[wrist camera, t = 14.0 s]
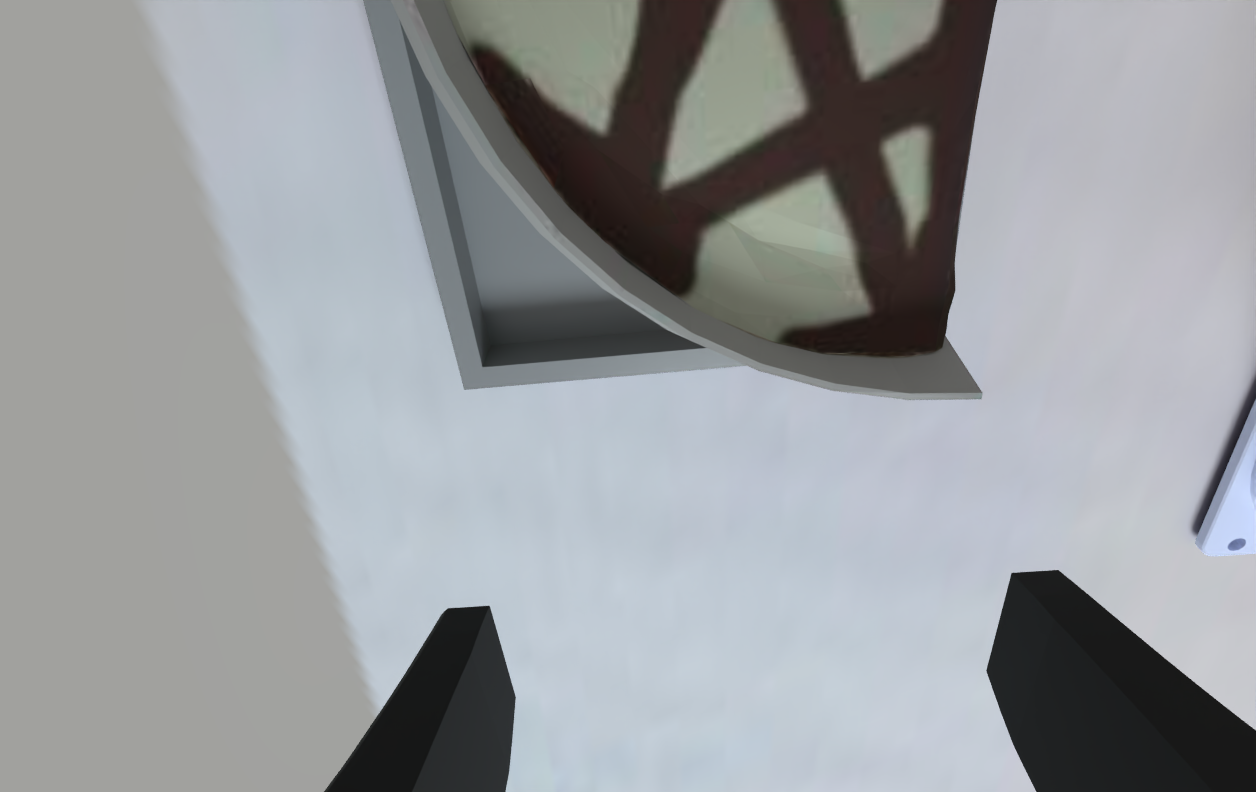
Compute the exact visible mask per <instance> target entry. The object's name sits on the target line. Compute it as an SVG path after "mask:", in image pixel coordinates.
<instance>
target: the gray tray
mask: <svg viewBox="0 0 1256 792" xmlns="http://www.w3.org/2000/svg"><path fill="white" fill-rule="evenodd" d="M363 1H364V5H365V9H366V13H367V17H368V20H369V24H370V28H371V32H372V36H373V40H374V44H375V47H376V51H377V55H378V59H379V63H380V67H381V70H382V74H383V78H384V82H385V86H386V90H387V94H388V97H389V101H390V105H391V109H392V113H393V117H394V121H395V124H396V128H397V132H398V136H399V140H400V144H401V148H402V151H403V155H404V159H405V163H406V167H407V171H408V175H409V178H410V182H411V186H412V190H413V194H414V198H415V201H416V205H417V209H418V213H419V217H420V221H421V225H422V228H423V232H424V236H425V240H426V244H427V248H428V252H429V255H430V259H431V263H432V267H433V271H434V275H435V279H436V282H437V286H438V290H439V294H440V298H441V302H442V305H443V309H444V313H445V317H446V321H447V325H448V329H449V332H450V336H451V340H452V344H453V348H454V352H455V356H456V359H457V363H458V367H459V371H460V375H461V379H462V383H463V386H464V390H467V389H478V388H490V387H502V386H514V385H526V384H537V383H549V382H561V381H573V380H584V379H596V378H608V377H620V376H632V375H643V374H655V373H667V372H679V371H690V370H702V369H714V368H726V367H737V366H747V365H745V364H742V363H740V362H738V361H735V360H733V359H731V358H729V357H726V356H724V355H722V354H720V353H717V352H715V351H713V350H710V349H708V348H706V347H704V346H701V345H699V344H697V343H695V342H692V341H690V340H688V339H686V338H684V337H681V336H679V335H677V334H675V333H672V332H670V331H668V330H667V329H665V328H663V327H662V326H660V325H659V324H657V323H656V322H654V321H652V320H651V319H649V318H648V317H646V316H645V315H643V314H642V313H640V312H638V311H637V310H635V309H634V308H632V307H631V306H629V305H627V304H626V303H624V302H623V301H621V300H620V299H618V298H617V297H615V296H613V295H612V294H610V293H609V292H607V291H606V290H604V289H602V288H601V287H600V286H599V285H598V284H597V283H596V282H594V281H593V280H592V279H591V278H590V277H589V276H588V275H586V274H585V273H584V272H583V271H582V270H581V269H580V268H579V267H577V266H576V265H575V264H574V263H573V262H572V261H571V260H569V259H568V258H567V257H566V256H565V255H564V254H563V253H561V252H560V251H559V250H558V249H557V248H556V247H555V246H553V245H552V244H551V243H550V242H549V241H548V240H547V239H546V238H544V237H543V236H542V235H541V234H540V233H539V232H538V231H537V230H536V229H535V227H534V226H533V225H532V224H531V223H530V222H529V220H528V219H527V218H526V217H525V216H524V214H523V213H522V212H521V211H520V210H519V209H518V207H517V206H516V205H515V204H514V203H513V201H512V200H511V199H510V198H509V197H508V196H507V194H506V193H505V192H504V191H503V190H502V188H501V187H500V186H499V185H498V184H497V183H496V181H495V180H494V179H493V178H492V177H491V175H490V174H489V173H488V172H487V171H486V170H485V168H484V167H483V166H482V165H481V164H480V162H479V161H478V159H477V158H476V156H475V154H474V153H473V151H472V150H471V148H470V146H469V145H468V143H467V142H466V140H465V138H464V137H463V135H462V134H461V132H460V131H459V129H458V127H457V126H456V124H455V123H454V121H453V119H452V118H451V116H450V115H449V113H448V111H447V110H446V108H445V107H444V105H443V104H442V102H441V100H440V99H439V97H438V96H437V94H436V92H435V91H434V89H433V88H432V86H431V84H430V83H429V81H428V80H427V78H426V77H425V74H424V72H423V70H422V68H421V66H420V63H419V61H418V59H417V57H416V55H415V53H414V50H413V48H412V46H411V44H410V42H409V39H408V37H407V35H406V33H405V31H404V28H403V26H402V24H401V22H400V20H399V17H398V15H397V13H396V11H395V9H394V7H393V4H392V2H391V0H363ZM974 122H975V121H974ZM973 129H974V128H973ZM972 135H973V134H972ZM971 142H972V140H971ZM970 149H971V147H970ZM969 156H970V153H969ZM968 163H969V159H968ZM967 170H968V166H967ZM966 176H967V172H966ZM965 183H966V178H965ZM964 190H965V184H964ZM963 197H964V191H963ZM963 197H962V203H961V210H960V216H959V224H960V217H961V211H962V204H963ZM959 224H958V231H959ZM957 238H958V234H957ZM956 245H957V244H956Z"/></svg>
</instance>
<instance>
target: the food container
mask: <svg viewBox="0 0 1256 792" xmlns="http://www.w3.org/2000/svg"><path fill="white" fill-rule="evenodd" d="M391 2H392V4H393V7H394V9H395V11H396V13H397V15H398V17H399V20H400V22H401V24H402V26H403V28H404V31H405V33H406V35H407V37H408V39H409V42H410V44H411V46H412V48H413V50H414V53H415V55H416V57H417V59H418V61H419V63H420V66H421V68H422V70H423V72H424V74H425V77H426V78H427V80H428V81H429V83H430V84H431V86H432V88H433V89H434V91H435V92H436V94H437V96H438V97H439V99H440V100H441V102H442V104H443V105H444V107H445V108H446V110H447V111H448V113H449V115H450V116H451V118H452V119H453V121H454V123H455V124H456V126H457V127H458V129H459V131H460V132H461V134H462V135H463V137H464V138H465V140H466V142H467V143H468V145H469V146H470V148H471V150H472V151H473V153H474V154H475V156H476V158H477V159H478V161H479V162H480V164H481V165H482V166H483V167H484V168H485V170H486V171H487V172H488V173H489V174H490V175H491V177H492V178H493V179H494V180H495V181H496V183H497V184H498V185H499V186H500V187H501V188H502V190H503V191H504V192H505V193H506V194H507V196H508V197H509V198H510V199H511V200H512V201H513V203H514V204H515V205H516V206H517V207H518V209H519V210H520V211H521V212H522V213H523V214H524V216H525V217H526V218H527V219H528V220H529V222H530V223H531V224H532V225H533V226H534V227H535V229H536V230H537V231H538V232H539V233H540V234H541V235H542V236H543V237H544V238H546V239H547V240H548V241H549V242H550V243H551V244H552V245H553V246H555V247H556V248H557V249H558V250H559V251H560V252H561V253H563V254H564V255H565V256H566V257H567V258H568V259H569V260H571V261H572V262H573V263H574V264H575V265H576V266H577V267H579V268H580V269H581V270H582V271H583V272H584V273H585V274H586V275H588V276H589V277H590V278H591V279H592V280H593V281H594V282H596V283H597V284H598V285H599V286H600V287H601V288H602V289H604V290H606V291H607V292H609V293H610V294H612V295H613V296H615V297H617V298H618V299H620V300H621V301H623V302H624V303H626V304H627V305H629V306H631V307H632V308H634V309H635V310H637V311H638V312H640V313H642V314H643V315H645V316H646V317H648V318H649V319H651V320H652V321H654V322H656V323H657V324H659V325H660V326H662V327H663V328H665V329H667V330H668V331H670V332H672V333H675V334H677V335H679V336H681V337H684V338H686V339H688V340H690V341H692V342H695V343H697V344H699V345H701V346H704V347H706V348H708V349H710V350H713V351H715V352H717V353H720V354H722V355H724V356H726V357H729V358H731V359H733V360H735V361H738V362H740V363H742V364H745V365H747V366H749V367H751V368H754V369H756V370H758V371H761V372H765V373H769V374H773V375H776V376H780V377H784V378H787V379H791V380H795V381H798V382H802V383H806V384H810V385H813V386H817V387H821V388H824V389H828V390H832V391H839V392H847V393H855V394H863V395H872V396H880V397H888V398H896V399H904V400H953V399H981V398H982V392H981V390H980V388H979V387H978V385H977V384H976V382H975V381H974V379H973V378H972V376H971V375H970V373H969V372H968V370H967V368H966V367H965V365H964V364H963V362H962V361H961V359H960V358H959V356H958V355H957V353H956V352H955V350H954V349H953V347H952V345H951V344H950V342H949V341H948V339H947V338H946V336H945V334H946V329H947V320H948V313H949V310H950V307H951V303H952V300H953V297H954V293H955V264H954V263H955V253H956V244H957V234H958V224H959V216H960V210H961V203H962V197H963V191H964V184H965V178H966V172H967V166H968V159H969V153H970V147H971V140H972V134H973V128H974V121H975V115H976V109H977V104H978V99H979V93H980V88H981V82H982V77H983V71H984V66H985V61H986V55H987V50H988V44H989V39H990V34H991V28H992V23H993V17H994V12H995V7H996V3H997V0H391Z"/></svg>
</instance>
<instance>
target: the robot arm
mask: <svg viewBox="0 0 1256 792" xmlns="http://www.w3.org/2000/svg"><path fill="white" fill-rule="evenodd" d="M1195 544H1196V546H1197V547H1198V548H1199V549H1200V550H1201V551H1202V552H1203V553H1204V554H1205V555H1207V556H1226V555H1241V554H1256V399H1255V402H1254V404H1253V407H1252V409H1251V411H1250V414H1249V416H1248V418H1247V421H1246V423H1245V425H1244V428H1243V430H1242V432H1241V435H1240V437H1239V439H1238V442H1237V444H1236V446H1235V449H1234V451H1233V453H1232V456H1231V458H1230V461H1229V463H1228V465H1227V468H1226V470H1225V472H1224V475H1223V477H1222V479H1221V482H1220V484H1219V486H1218V489H1217V491H1216V493H1215V496H1214V498H1213V500H1212V503H1211V505H1210V507H1209V510H1208V512H1207V515H1206V517H1205V519H1204V522H1203V524H1202V526H1201V529H1200V531H1199V533H1198V536H1197V538H1196V543H1195ZM987 674H988V677H989V680H990V682H991V685H992V688H993V691H994V694H995V697H996V699H997V702H998V705H999V708H1000V711H1001V713H1002V716H1003V719H1004V721H1005V724H1006V727H1007V729H1008V732H1009V734H1010V737H1011V740H1012V742H1013V745H1014V747H1015V749H1016V751H1017V753H1018V755H1019V757H1020V760H1021V762H1022V764H1023V766H1024V768H1025V770H1026V772H1027V774H1028V776H1029V778H1030V780H1031V782H1032V784H1033V786H1034V788H1035V790H1036V792H1256V730H1254V729H1253V728H1252V727H1250V726H1249V725H1248V724H1247V723H1245V722H1244V721H1243V720H1241V719H1240V718H1239V717H1237V716H1236V715H1235V714H1234V713H1232V712H1231V711H1230V710H1229V709H1227V708H1226V707H1225V706H1223V705H1222V704H1221V703H1220V702H1218V701H1217V700H1216V699H1215V698H1213V697H1212V696H1211V695H1209V694H1208V693H1207V692H1206V691H1204V690H1203V689H1202V688H1201V687H1199V686H1198V685H1197V684H1196V683H1194V682H1193V681H1192V680H1191V679H1189V678H1188V677H1187V676H1186V675H1185V674H1183V673H1182V672H1181V671H1180V670H1178V669H1177V668H1176V667H1175V666H1173V665H1172V664H1171V663H1170V662H1169V661H1167V660H1166V659H1165V658H1164V657H1162V656H1161V655H1160V654H1159V653H1158V652H1156V651H1155V650H1154V649H1153V648H1152V647H1150V646H1149V645H1148V644H1147V643H1145V642H1144V641H1143V640H1142V639H1141V638H1139V637H1138V636H1137V635H1136V634H1135V633H1133V632H1132V631H1131V630H1130V629H1129V628H1127V627H1126V626H1125V625H1124V624H1123V623H1121V622H1120V621H1119V620H1118V619H1117V618H1115V617H1114V616H1113V615H1112V614H1111V613H1109V612H1108V611H1107V610H1106V609H1105V608H1103V607H1102V606H1101V605H1100V604H1099V603H1097V602H1096V601H1095V600H1094V599H1093V598H1091V597H1090V596H1089V595H1088V594H1087V593H1085V592H1084V591H1083V590H1082V589H1081V588H1079V587H1078V586H1077V585H1076V584H1075V583H1073V582H1072V581H1071V580H1070V579H1068V578H1067V577H1066V576H1065V575H1064V574H1062V573H1061V572H1060V571H1059V570H1052V571H1036V572H1020V573H1012V574H1011V578H1010V582H1009V586H1008V589H1007V593H1006V597H1005V601H1004V605H1003V609H1002V613H1001V616H1000V620H999V624H998V628H997V632H996V636H995V640H994V644H993V647H992V651H991V655H990V659H989V663H988V667H987ZM515 698H516V697H515V693H514V690H513V686H512V683H511V679H510V676H509V672H508V669H507V665H506V662H505V658H504V655H503V651H502V648H501V644H500V641H499V637H498V634H497V630H496V627H495V623H494V620H493V616H492V613H491V609H490V606H479V607H464V608H448V609H447V610H446V611H445V612H444V613H443V614H442V615H441V616H440V618H439V620H438V621H437V623H436V625H435V626H434V628H433V630H432V631H431V633H430V634H429V636H428V638H427V639H426V641H425V643H424V644H423V646H422V648H421V649H420V651H419V652H418V654H417V656H416V657H415V659H414V660H413V662H412V664H411V665H410V667H409V668H408V670H407V672H406V673H405V675H404V676H403V678H402V679H401V681H400V682H399V684H398V686H397V687H396V689H395V690H394V692H393V693H392V695H391V696H390V698H389V700H388V701H387V703H386V704H385V706H384V707H383V709H382V710H381V711H380V713H379V714H378V716H377V717H376V719H375V720H374V722H373V723H372V725H371V726H370V728H369V729H368V731H367V732H366V734H365V735H364V737H363V738H362V739H361V741H360V742H359V744H358V745H357V747H356V749H355V750H354V751H353V753H352V754H351V756H350V757H349V758H348V760H347V761H346V763H345V764H344V766H343V767H342V768H341V770H340V771H339V772H338V774H337V775H336V776H335V778H334V779H333V781H332V782H331V783H330V785H329V786H328V787H327V789H326V790H325V791H324V792H505V790H506V785H507V780H508V774H509V766H510V756H511V746H512V735H513V723H514V710H515Z"/></svg>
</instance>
